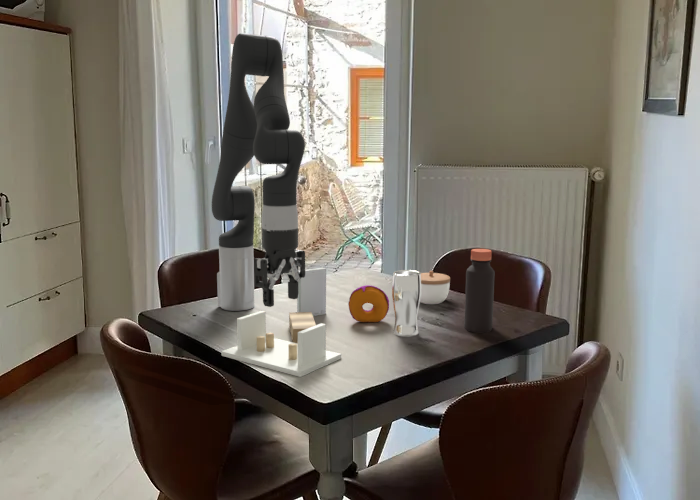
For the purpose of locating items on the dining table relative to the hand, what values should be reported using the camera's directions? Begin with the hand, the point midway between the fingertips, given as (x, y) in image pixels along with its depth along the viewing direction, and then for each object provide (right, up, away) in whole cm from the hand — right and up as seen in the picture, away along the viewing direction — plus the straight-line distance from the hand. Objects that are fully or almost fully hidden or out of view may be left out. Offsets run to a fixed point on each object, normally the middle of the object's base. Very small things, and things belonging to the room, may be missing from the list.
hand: (281, 302), depth 150 cm
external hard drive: (+5, -6, +35) cm, 36 cm away
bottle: (+46, -9, +23) cm, 53 cm away
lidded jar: (+37, -4, +49) cm, 61 cm away
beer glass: (+28, -9, +20) cm, 36 cm away
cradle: (0, -12, +2) cm, 12 cm away
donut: (+20, -8, +28) cm, 35 cm away
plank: (+3, -9, +18) cm, 21 cm away
